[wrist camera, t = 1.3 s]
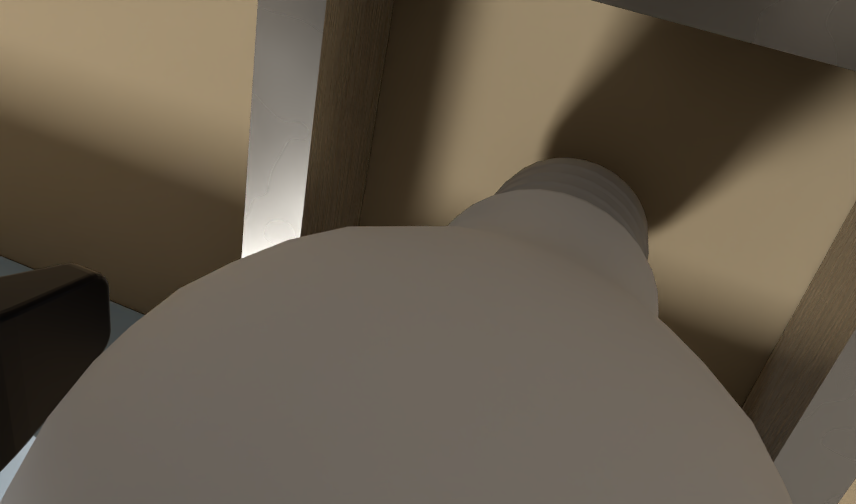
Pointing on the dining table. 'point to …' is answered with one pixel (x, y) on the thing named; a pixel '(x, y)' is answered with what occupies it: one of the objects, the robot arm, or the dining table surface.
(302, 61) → the socket collar
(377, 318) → the lightbulb
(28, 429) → the robot arm
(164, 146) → the dining table surface
